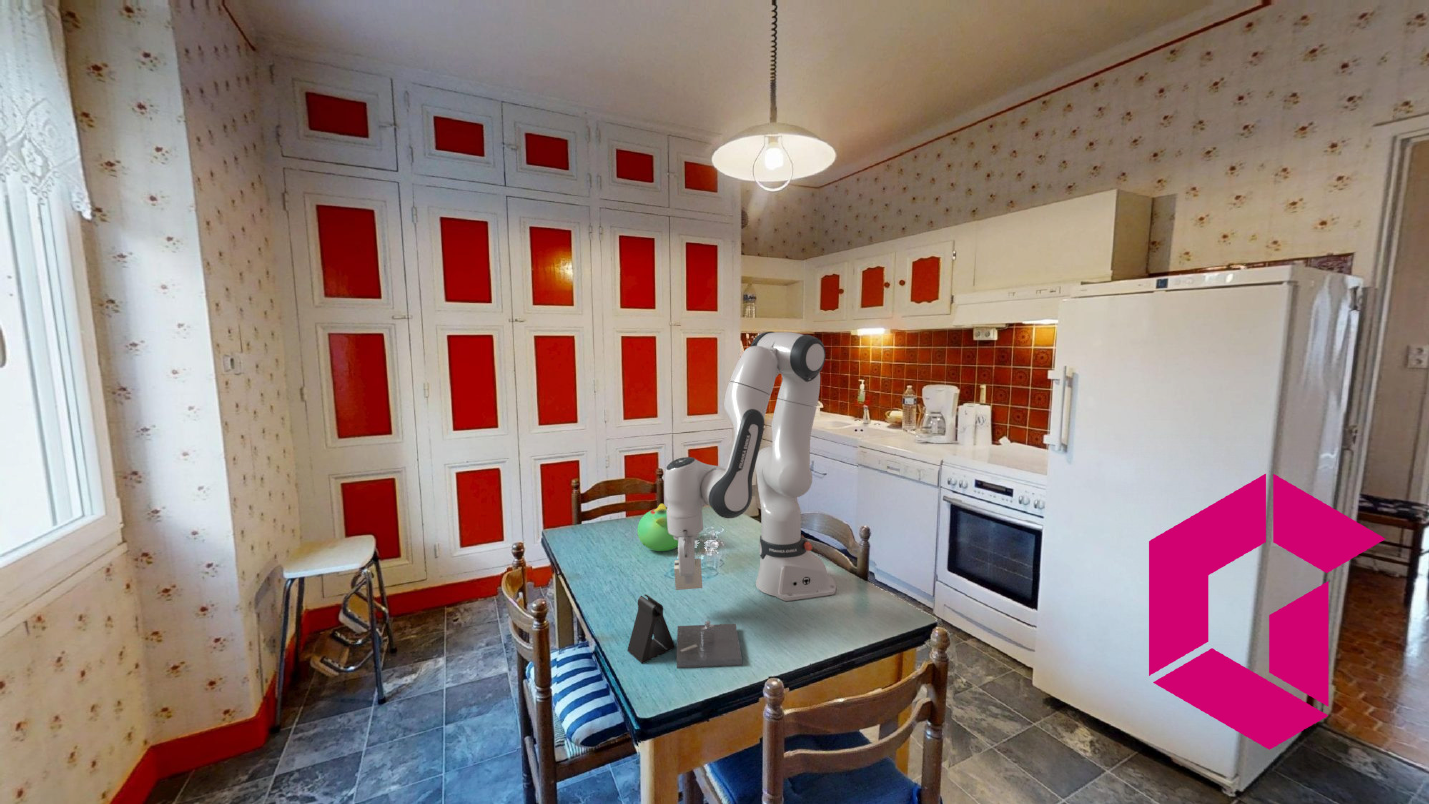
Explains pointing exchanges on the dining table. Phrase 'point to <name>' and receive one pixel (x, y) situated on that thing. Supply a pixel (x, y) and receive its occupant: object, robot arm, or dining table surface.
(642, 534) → the green bird toy
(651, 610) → the black a-frame stand
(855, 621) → the dining table surface
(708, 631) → the grey square base
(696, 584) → the hollow rectangular block
